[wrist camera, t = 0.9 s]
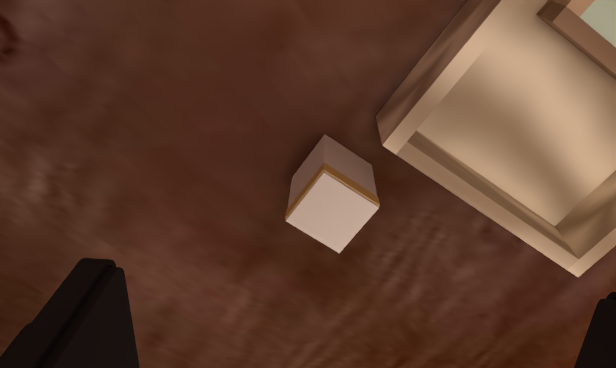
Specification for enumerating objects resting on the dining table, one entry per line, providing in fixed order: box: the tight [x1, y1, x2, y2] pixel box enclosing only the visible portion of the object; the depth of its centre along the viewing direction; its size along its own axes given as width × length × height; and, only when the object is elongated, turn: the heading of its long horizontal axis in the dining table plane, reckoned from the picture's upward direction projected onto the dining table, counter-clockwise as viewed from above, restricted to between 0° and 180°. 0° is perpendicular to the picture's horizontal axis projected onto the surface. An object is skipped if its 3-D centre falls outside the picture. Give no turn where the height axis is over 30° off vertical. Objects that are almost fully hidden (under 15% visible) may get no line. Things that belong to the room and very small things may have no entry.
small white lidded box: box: [285, 134, 380, 253], centre depth 34 cm, size 4×4×6 cm
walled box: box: [376, 0, 616, 277], centre depth 30 cm, size 20×16×5 cm
